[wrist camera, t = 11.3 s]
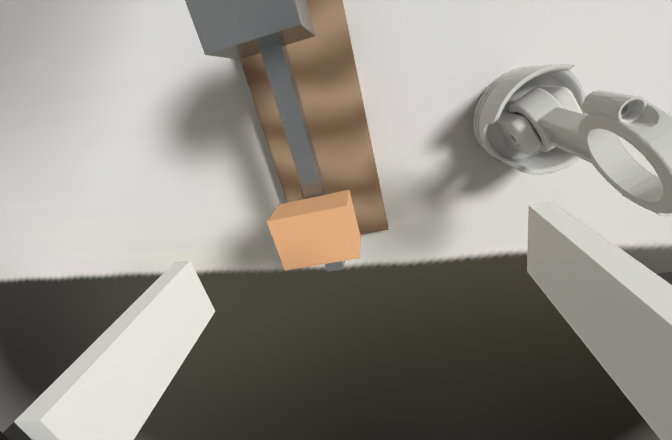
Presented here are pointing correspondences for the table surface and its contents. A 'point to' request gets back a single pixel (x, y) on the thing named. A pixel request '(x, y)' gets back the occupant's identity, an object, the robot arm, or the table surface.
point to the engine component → (576, 131)
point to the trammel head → (316, 231)
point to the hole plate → (324, 115)
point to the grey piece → (267, 65)
